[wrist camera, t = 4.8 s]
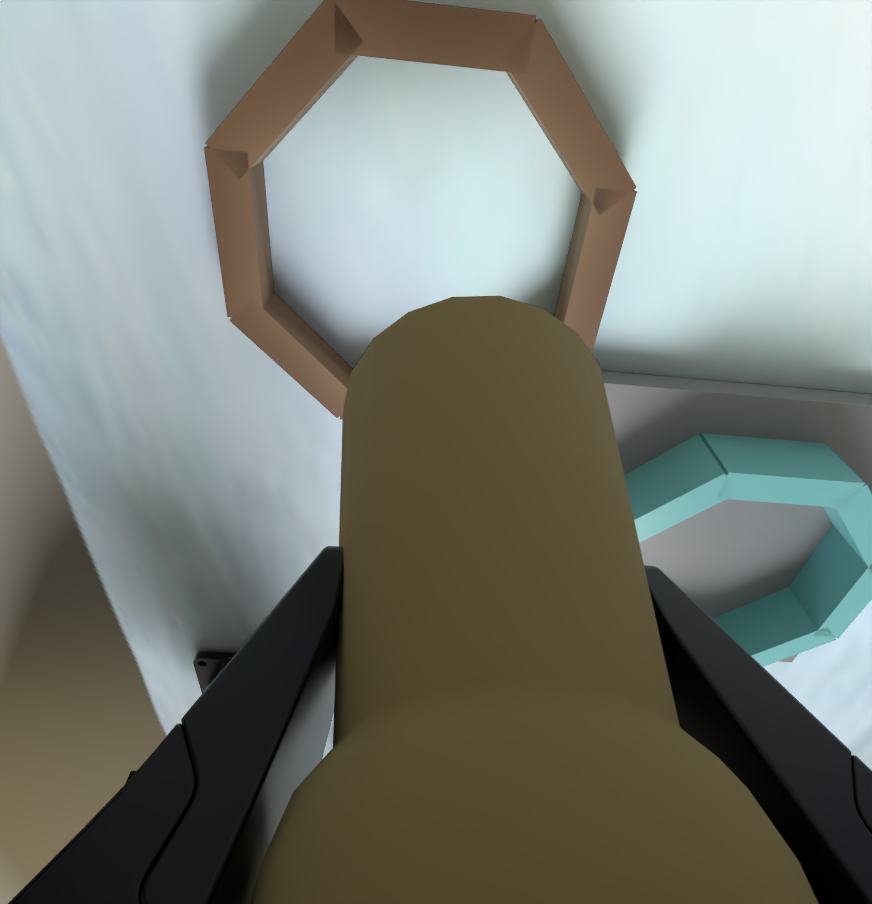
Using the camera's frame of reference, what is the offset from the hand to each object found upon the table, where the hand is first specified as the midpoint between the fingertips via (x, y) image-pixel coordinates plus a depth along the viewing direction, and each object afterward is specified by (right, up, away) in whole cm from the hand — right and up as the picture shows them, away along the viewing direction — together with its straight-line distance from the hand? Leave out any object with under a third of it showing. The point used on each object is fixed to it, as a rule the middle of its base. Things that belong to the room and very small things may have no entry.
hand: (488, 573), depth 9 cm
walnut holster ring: (-1, +9, +9) cm, 13 cm away
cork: (0, +3, +4) cm, 5 cm away
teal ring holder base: (+11, -2, +17) cm, 21 cm away
